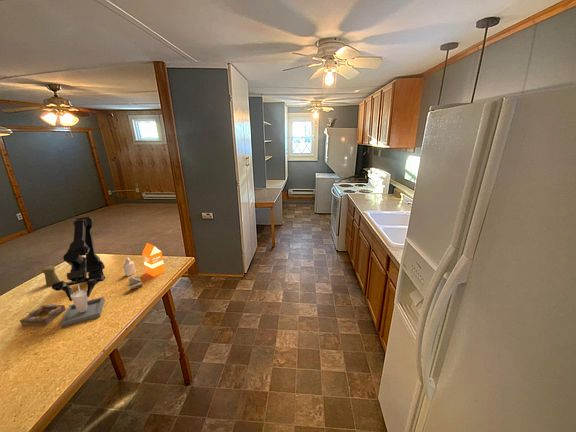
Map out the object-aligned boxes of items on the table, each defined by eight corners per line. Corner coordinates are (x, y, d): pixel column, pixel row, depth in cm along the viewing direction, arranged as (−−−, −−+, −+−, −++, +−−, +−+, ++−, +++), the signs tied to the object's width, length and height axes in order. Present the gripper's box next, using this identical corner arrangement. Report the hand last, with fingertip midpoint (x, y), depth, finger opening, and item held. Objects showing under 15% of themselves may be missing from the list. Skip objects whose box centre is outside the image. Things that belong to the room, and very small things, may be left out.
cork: (51, 287, 136) (45, 270, 133) (43, 285, 137) (37, 269, 134) (63, 281, 142) (57, 265, 138) (55, 280, 143) (49, 264, 140)
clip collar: (44, 309, 118) (42, 303, 117) (65, 310, 118) (63, 303, 117) (21, 325, 108) (19, 319, 107) (45, 325, 108) (42, 319, 107)
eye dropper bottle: (125, 273, 150) (121, 257, 147) (135, 271, 154) (132, 254, 150) (125, 276, 147) (121, 259, 143) (136, 274, 150) (132, 257, 146)
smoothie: (93, 305, 119) (89, 281, 115) (85, 314, 113) (80, 289, 109) (79, 306, 118) (74, 281, 114) (70, 314, 112) (64, 289, 108)
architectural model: (143, 288, 137) (140, 277, 135) (129, 293, 132) (126, 281, 130) (141, 285, 139) (139, 274, 137) (128, 290, 135) (125, 279, 132)
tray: (70, 309, 119) (69, 305, 118) (104, 300, 125) (103, 296, 125) (62, 327, 107) (60, 323, 107) (100, 316, 114) (99, 312, 113)
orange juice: (153, 277, 147) (148, 248, 141) (145, 272, 152) (140, 244, 145) (165, 271, 154) (160, 243, 147) (157, 267, 158) (152, 240, 152)
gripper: (46, 268, 107) (45, 302, 102) (97, 259, 116) (98, 289, 110) (57, 274, 116) (56, 306, 111) (103, 265, 125) (105, 294, 119)
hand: (79, 299), depth 113 cm, fingers closed on smoothie, 6 cm apart
